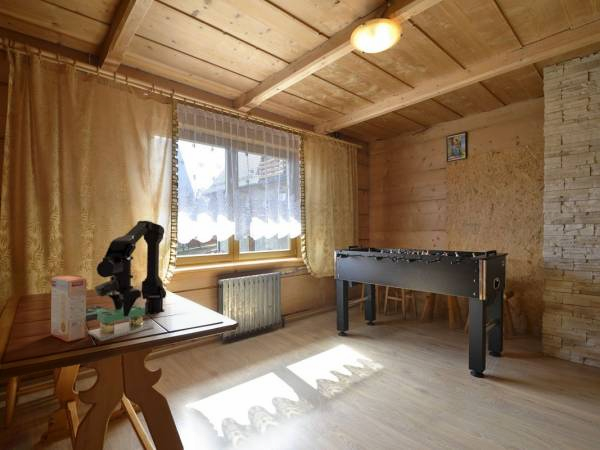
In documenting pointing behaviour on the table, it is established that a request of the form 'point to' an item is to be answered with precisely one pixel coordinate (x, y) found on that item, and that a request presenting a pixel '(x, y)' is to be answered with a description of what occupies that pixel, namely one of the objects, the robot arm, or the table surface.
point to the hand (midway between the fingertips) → (122, 314)
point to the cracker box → (68, 308)
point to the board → (119, 314)
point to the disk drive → (94, 312)
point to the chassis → (120, 328)
